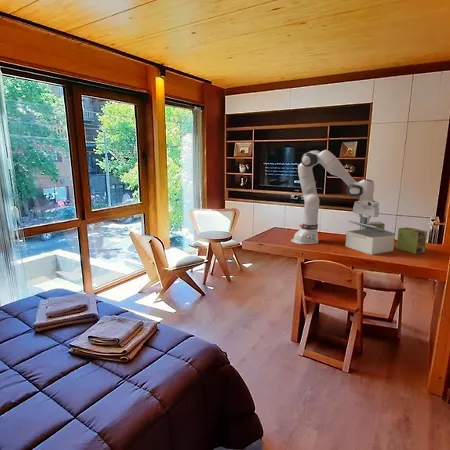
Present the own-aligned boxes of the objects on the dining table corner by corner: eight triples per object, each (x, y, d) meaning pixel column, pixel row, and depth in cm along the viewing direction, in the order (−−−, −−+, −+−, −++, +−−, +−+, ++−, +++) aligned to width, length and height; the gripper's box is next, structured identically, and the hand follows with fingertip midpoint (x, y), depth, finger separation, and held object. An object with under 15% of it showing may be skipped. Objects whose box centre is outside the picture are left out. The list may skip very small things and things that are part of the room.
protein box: (416, 253, 228) (418, 232, 225) (395, 248, 241) (398, 228, 238) (425, 251, 233) (427, 230, 230) (404, 246, 246) (407, 226, 243)
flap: (375, 227, 223) (377, 219, 222) (348, 221, 244) (351, 214, 244) (394, 234, 233) (397, 227, 232) (367, 228, 254) (369, 221, 254)
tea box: (379, 238, 271) (380, 221, 268) (383, 241, 262) (385, 223, 259) (360, 238, 273) (361, 220, 270) (364, 241, 263) (365, 223, 260)
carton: (371, 254, 226) (372, 238, 223) (345, 246, 247) (346, 231, 245) (393, 250, 235) (394, 234, 233) (366, 243, 256) (367, 228, 254)
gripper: (351, 200, 239) (350, 219, 242) (374, 204, 221) (372, 224, 224) (357, 200, 242) (356, 218, 244) (381, 203, 223) (379, 223, 226)
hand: (364, 221), depth 234 cm, fingers closed on flap, 4 cm apart
